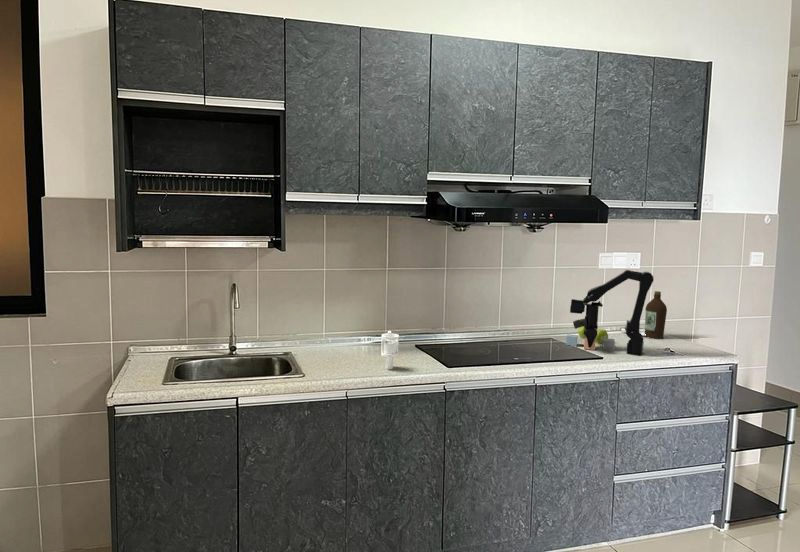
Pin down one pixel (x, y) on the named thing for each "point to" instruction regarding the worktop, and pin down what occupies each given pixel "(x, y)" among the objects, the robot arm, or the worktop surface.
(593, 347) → the terracotta block
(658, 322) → the olive oil
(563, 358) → the worktop surface
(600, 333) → the dumbbell
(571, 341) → the slate block
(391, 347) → the clear stepped cylinder
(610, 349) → the charcoal block
